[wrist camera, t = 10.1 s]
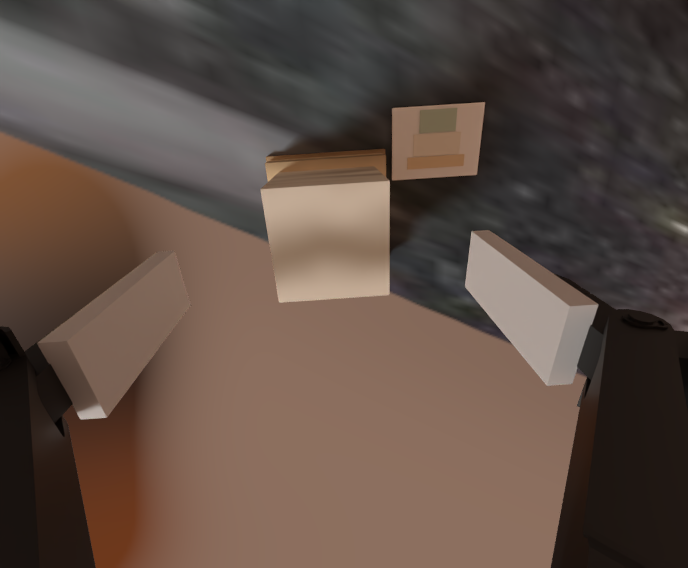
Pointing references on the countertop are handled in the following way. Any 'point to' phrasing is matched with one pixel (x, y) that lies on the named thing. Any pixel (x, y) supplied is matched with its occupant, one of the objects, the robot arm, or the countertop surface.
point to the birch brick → (329, 233)
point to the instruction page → (436, 140)
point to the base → (326, 161)
